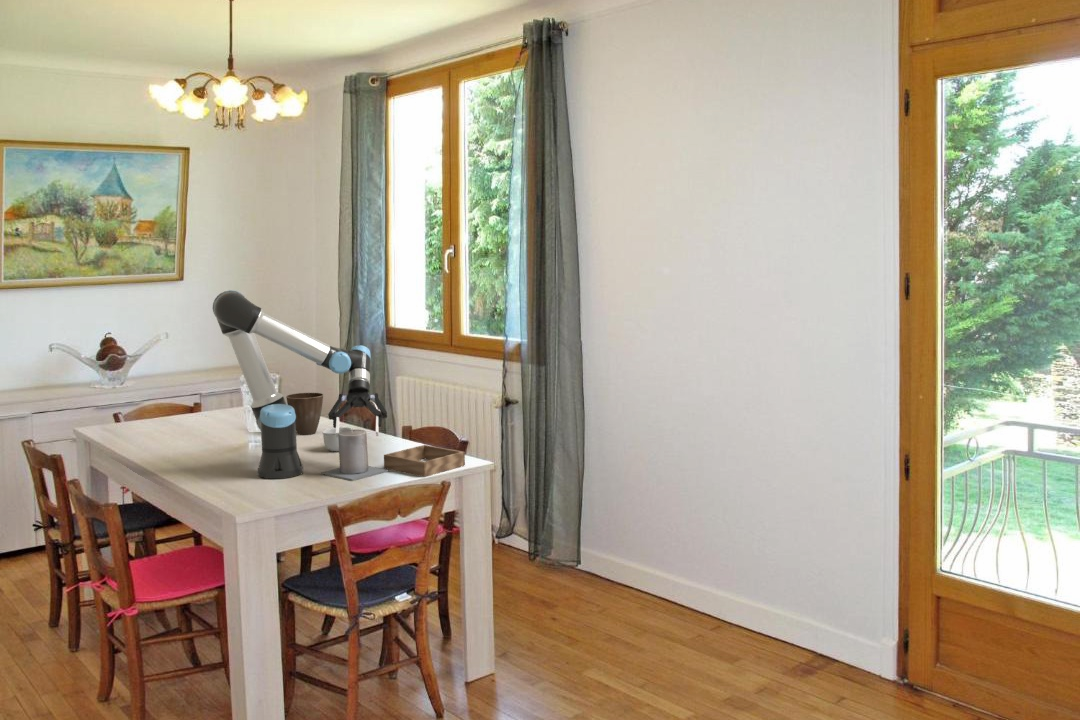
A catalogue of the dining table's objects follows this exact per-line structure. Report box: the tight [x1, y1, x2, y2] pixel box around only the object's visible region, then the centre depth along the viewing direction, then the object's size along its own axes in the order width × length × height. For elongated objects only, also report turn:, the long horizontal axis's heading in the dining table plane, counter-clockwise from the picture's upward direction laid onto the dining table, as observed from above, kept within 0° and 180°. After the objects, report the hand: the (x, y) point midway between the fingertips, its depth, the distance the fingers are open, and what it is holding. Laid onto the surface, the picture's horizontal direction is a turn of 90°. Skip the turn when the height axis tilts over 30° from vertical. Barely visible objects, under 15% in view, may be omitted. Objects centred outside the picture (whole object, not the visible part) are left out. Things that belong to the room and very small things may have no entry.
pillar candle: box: [338, 428, 369, 474], centre depth 343 cm, size 10×10×15 cm
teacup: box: [322, 426, 352, 452], centre depth 381 cm, size 14×11×8 cm
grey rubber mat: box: [321, 465, 389, 482], centre depth 344 cm, size 16×16×1 cm
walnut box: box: [383, 444, 466, 478], centre depth 350 cm, size 20×20×5 cm
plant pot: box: [285, 392, 324, 436], centre depth 412 cm, size 15×15×16 cm
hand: (357, 434), depth 344 cm, fingers open, 13 cm apart
